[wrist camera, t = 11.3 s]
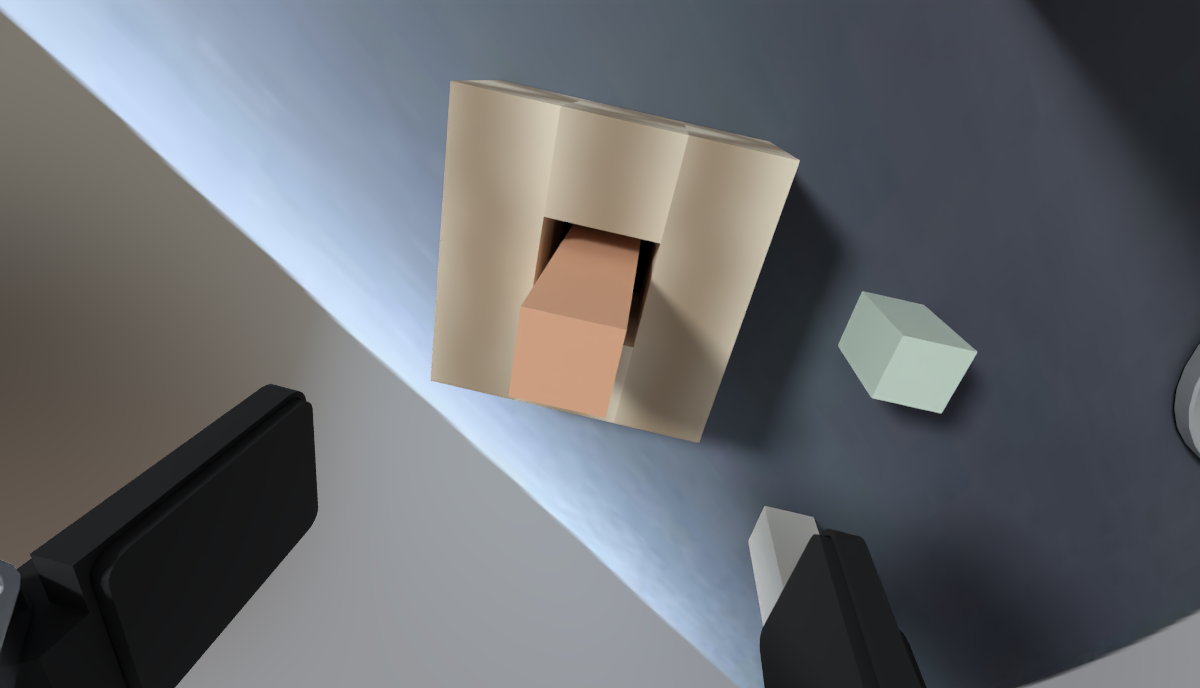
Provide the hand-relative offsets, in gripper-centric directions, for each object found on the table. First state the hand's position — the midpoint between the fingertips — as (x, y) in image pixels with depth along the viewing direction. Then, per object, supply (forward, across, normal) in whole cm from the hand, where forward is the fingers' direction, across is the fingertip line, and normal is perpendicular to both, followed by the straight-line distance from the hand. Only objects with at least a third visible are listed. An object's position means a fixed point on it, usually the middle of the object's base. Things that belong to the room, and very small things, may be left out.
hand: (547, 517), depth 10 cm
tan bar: (+18, +1, 0) cm, 18 cm away
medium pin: (+19, -13, +15) cm, 27 cm away
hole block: (+18, +1, 0) cm, 18 cm away
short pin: (+19, -13, +1) cm, 22 cm away
